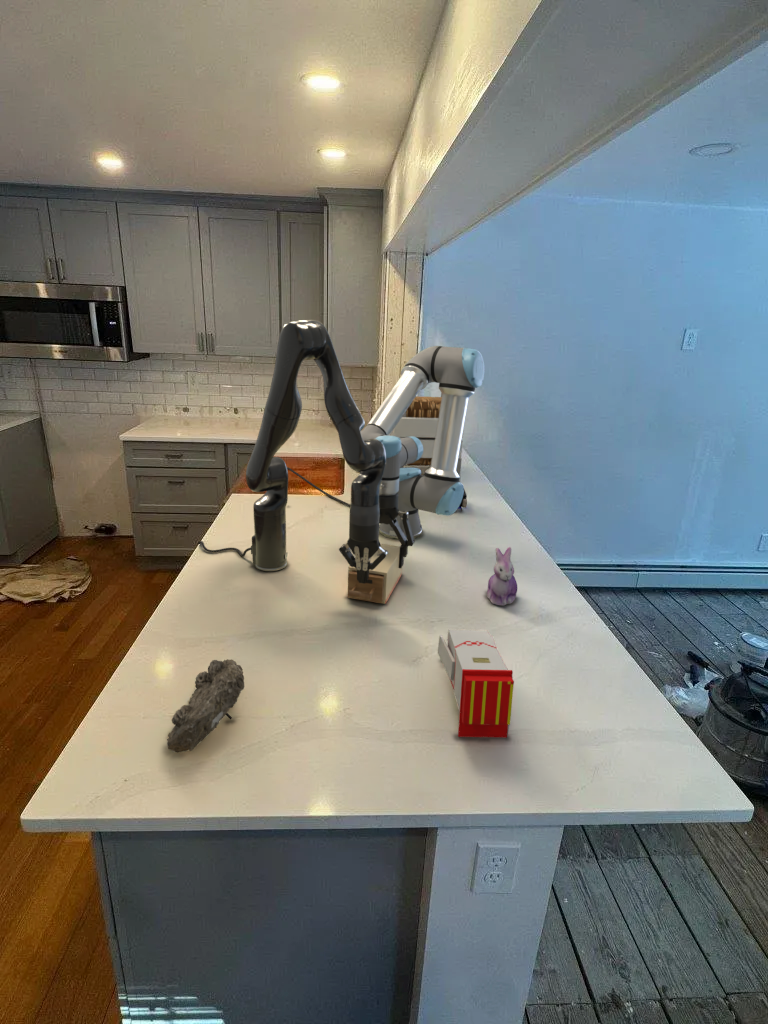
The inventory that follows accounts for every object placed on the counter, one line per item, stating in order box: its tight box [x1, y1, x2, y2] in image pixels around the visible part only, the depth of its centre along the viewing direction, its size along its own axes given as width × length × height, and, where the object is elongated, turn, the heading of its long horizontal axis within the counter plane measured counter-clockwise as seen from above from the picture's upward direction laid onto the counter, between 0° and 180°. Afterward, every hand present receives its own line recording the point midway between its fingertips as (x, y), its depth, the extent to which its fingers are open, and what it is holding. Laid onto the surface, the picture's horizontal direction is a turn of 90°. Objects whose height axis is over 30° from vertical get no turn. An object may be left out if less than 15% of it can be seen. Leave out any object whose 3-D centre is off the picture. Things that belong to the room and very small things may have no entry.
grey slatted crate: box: [389, 392, 465, 483], centre depth 268 cm, size 34×33×41 cm
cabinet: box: [347, 543, 403, 605], centre depth 160 cm, size 18×11×9 cm, turn 165°
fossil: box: [166, 658, 245, 754], centre depth 106 cm, size 22×10×15 cm
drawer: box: [347, 571, 384, 604], centre depth 156 cm, size 23×10×7 cm, turn 165°
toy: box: [437, 628, 515, 738], centre depth 117 cm, size 12×13×30 cm
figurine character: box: [457, 489, 468, 512], centre depth 228 cm, size 7×8×15 cm
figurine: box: [486, 546, 518, 606], centre depth 155 cm, size 9×10×15 cm
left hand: (362, 582), depth 147 cm, fingers closed
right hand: (382, 563), depth 166 cm, fingers closed on cabinet, 11 cm apart
